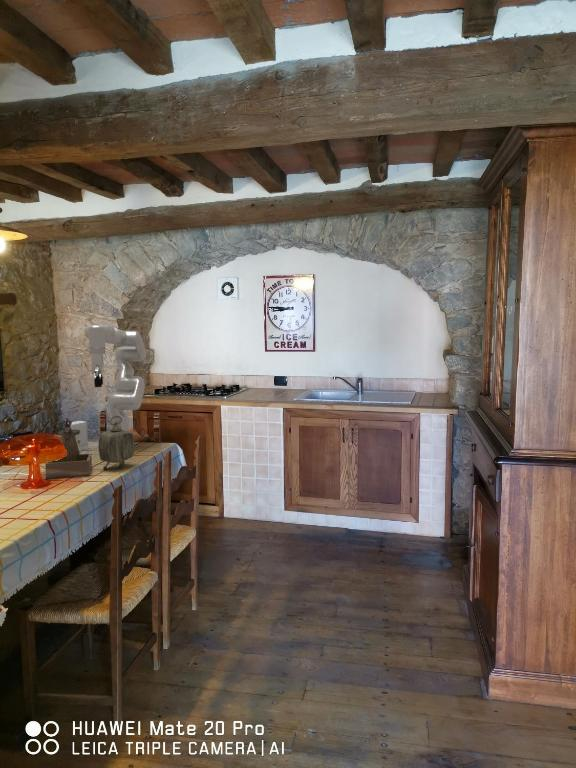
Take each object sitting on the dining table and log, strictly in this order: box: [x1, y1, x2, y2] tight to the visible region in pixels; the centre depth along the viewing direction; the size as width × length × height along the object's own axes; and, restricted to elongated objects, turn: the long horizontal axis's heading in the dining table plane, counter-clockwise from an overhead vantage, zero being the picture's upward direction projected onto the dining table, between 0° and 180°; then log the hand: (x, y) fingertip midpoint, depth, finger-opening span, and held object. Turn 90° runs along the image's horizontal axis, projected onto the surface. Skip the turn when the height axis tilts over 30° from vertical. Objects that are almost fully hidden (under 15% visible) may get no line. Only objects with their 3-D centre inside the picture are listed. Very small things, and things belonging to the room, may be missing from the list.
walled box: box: [44, 453, 93, 480], centre depth 239 cm, size 14×18×7 cm
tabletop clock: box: [97, 416, 135, 470], centre depth 247 cm, size 14×9×25 cm, turn 149°
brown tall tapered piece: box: [59, 417, 80, 462], centre depth 239 cm, size 9×8×25 cm
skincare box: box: [68, 420, 89, 452], centre depth 283 cm, size 8×7×16 cm
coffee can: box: [57, 429, 82, 454], centre depth 266 cm, size 10×10×14 cm
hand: (98, 385), depth 255 cm, fingers open, 9 cm apart
